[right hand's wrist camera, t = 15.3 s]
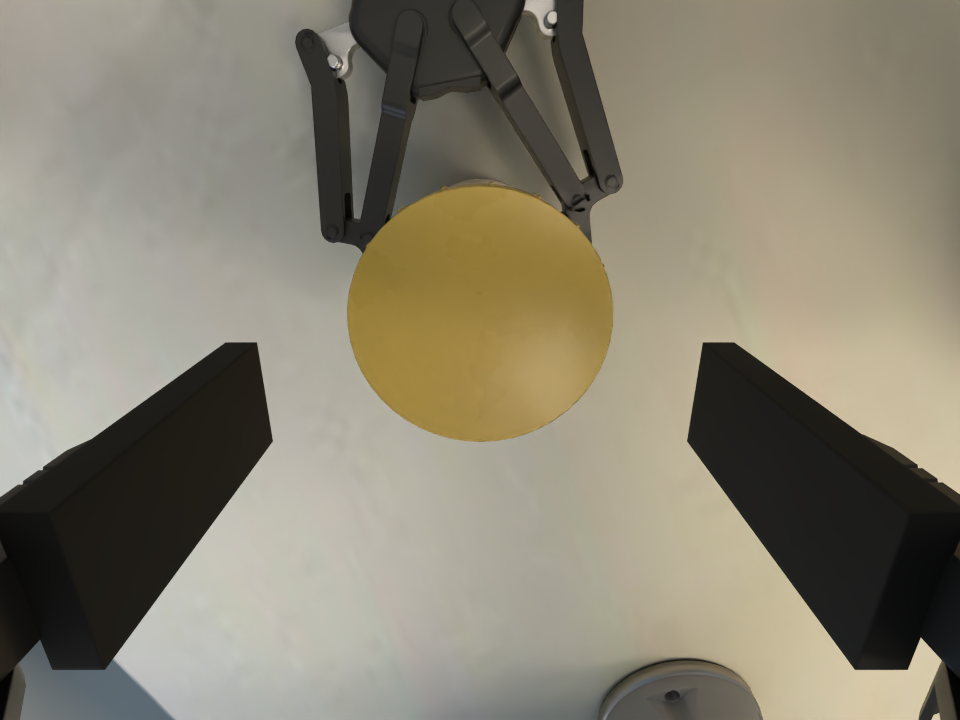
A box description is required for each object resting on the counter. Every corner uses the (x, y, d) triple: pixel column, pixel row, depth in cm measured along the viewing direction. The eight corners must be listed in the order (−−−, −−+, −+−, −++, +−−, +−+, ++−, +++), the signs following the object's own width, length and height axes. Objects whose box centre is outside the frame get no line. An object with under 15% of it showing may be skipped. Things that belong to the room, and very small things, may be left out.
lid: (384, 150, 18) (371, 150, 16) (636, 221, 19) (656, 229, 17) (340, 386, 22) (325, 410, 20) (558, 437, 23) (566, 466, 20)
